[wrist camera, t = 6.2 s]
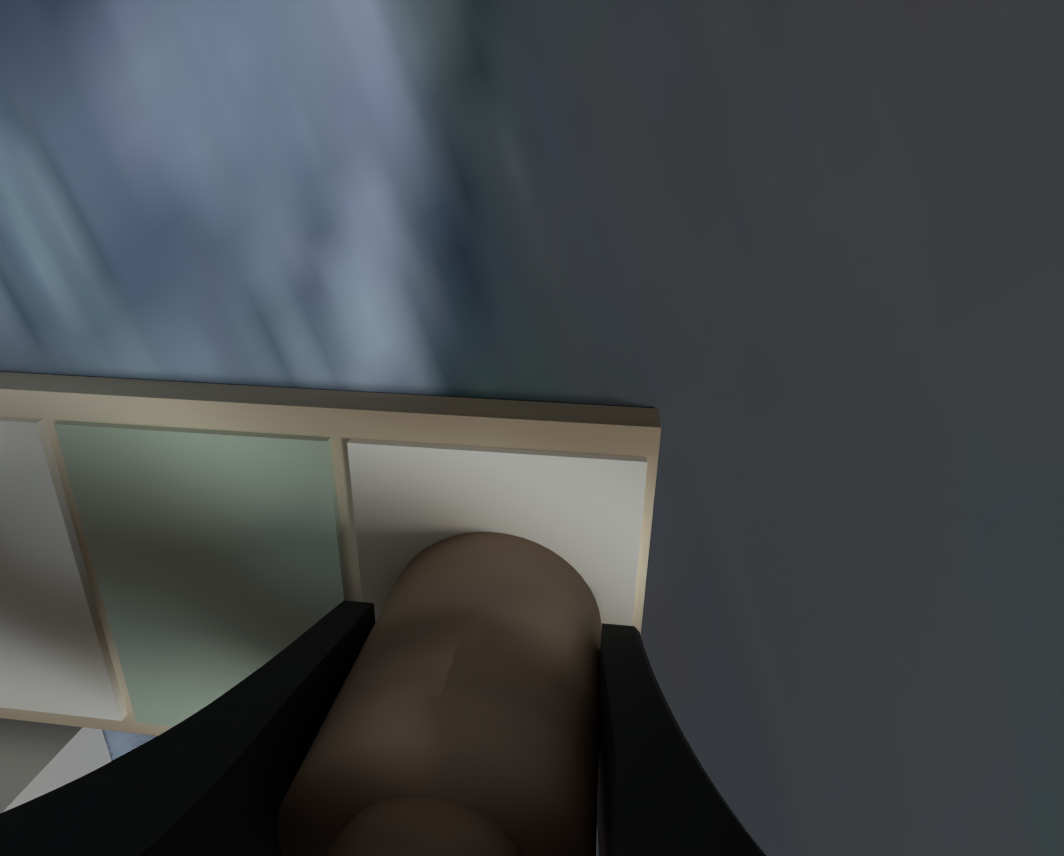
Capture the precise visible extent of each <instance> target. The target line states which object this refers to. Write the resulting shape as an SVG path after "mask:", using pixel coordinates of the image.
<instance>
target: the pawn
mask: <svg viewBox="0 0 1064 856" xmlns="http://www.w3.org/2000/svg"><path fill="white" fill-rule="evenodd" d="M600 643H601V618H600V612H599V608H598V605H597V602H596V599H595V597H594V595H593V593H592V591H591V589H590V588H589V586H588V585H587V583H586V582H585V580H584V579H583V577H582V576H581V575H580V574H579V573H578V572H577V571H576V570H575V569H574V567H573V566H571V565H570V564H569V563H568V562H567V561H566V560H564V559H563V558H562V557H560V556H559V555H557V554H556V553H554V552H553V551H551V550H550V549H548V548H546V547H544V546H542V545H540V544H538V543H536V542H533V541H531V540H528V539H525V538H522V537H518V536H514V535H510V534H504V533H496V532H474V533H465V534H460V535H456V536H451V537H449V538H446V539H443V540H440V541H438V542H436V543H434V544H432V545H430V546H429V547H427V548H425V549H424V550H423V551H421V552H420V553H419V554H417V555H416V556H415V557H414V558H413V559H412V560H411V561H410V562H409V563H408V564H407V566H406V567H405V568H404V570H403V571H402V573H401V574H400V576H399V578H398V580H397V582H396V584H395V586H394V588H393V590H392V592H391V594H390V596H389V597H388V599H387V601H386V603H385V605H384V607H383V609H382V611H381V613H380V615H379V617H378V619H377V621H376V622H375V624H374V626H373V628H372V630H371V632H370V634H369V636H368V638H367V640H366V642H365V644H364V646H363V647H362V649H361V651H360V653H359V655H358V657H357V659H356V661H355V663H354V665H353V667H352V669H351V670H350V672H349V674H348V676H347V678H346V680H345V682H344V684H343V686H342V688H341V690H340V692H339V694H338V695H337V697H336V699H335V701H334V703H333V705H332V707H331V709H330V711H329V713H328V715H327V717H326V719H325V720H324V722H323V724H322V726H321V728H320V730H319V732H318V734H317V736H316V738H315V740H314V742H313V744H312V745H311V747H310V749H309V751H308V753H307V755H306V757H305V759H304V761H303V763H302V765H301V767H300V768H299V770H298V772H297V774H296V776H295V778H294V780H293V782H292V784H291V786H290V788H289V790H288V792H287V793H286V795H285V797H284V799H283V801H282V804H281V808H280V811H279V814H278V824H277V834H278V844H279V847H280V851H281V855H282V856H596V830H597V791H598V751H599V667H600Z"/></svg>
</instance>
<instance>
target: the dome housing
mask: <svg viewBox="0 0 1064 856" xmlns="http://www.w3.org/2000/svg"><path fill="white" fill-rule="evenodd" d="M109 762H111V757H110V754H109V751H108V748H107V744H106V741H105V738H104V734H103V731H102V729H93V728H85V727H76V726H67V725H58V724H50V723H41V722H32V721H23V720H15V719H6V718H0V813H2V812H5V811H7V810H10V809H12V808H14V807H17V806H19V805H21V804H24V803H26V802H28V801H30V800H33V799H35V798H37V797H39V796H41V795H44V794H46V793H48V792H50V791H53V790H55V789H57V788H59V787H61V786H63V785H65V784H67V783H70V782H72V781H74V780H76V779H78V778H80V777H82V776H84V775H86V774H88V773H90V772H92V771H94V770H96V769H98V768H100V767H102V766H104V765H106V764H107V763H109Z"/></svg>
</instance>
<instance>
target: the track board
mask: <svg viewBox="0 0 1064 856" xmlns="http://www.w3.org/2000/svg"><path fill="white" fill-rule="evenodd" d="M660 433H661V425H660V419H659V414H658V408H640V407H622V406H604V405H587V404H569V403H551V402H533V401H515V400H497V399H479V398H461V397H443V396H425V395H407V394H390V393H372V392H354V391H336V390H318V389H300V388H282V387H264V386H246V385H228V384H211V383H193V382H175V381H157V380H139V379H121V378H103V377H85V376H67V375H49V374H31V373H14V372H0V718H6V719H15V720H23V721H32V722H41V723H50V724H58V725H67V726H76V727H85V728H93V729H102V730H111V731H120V732H129V733H137V734H146V735H155V736H159V735H161V734H162V733H164V732H166V731H167V730H169V729H170V728H172V727H174V726H175V725H177V724H179V723H180V722H182V721H184V720H185V719H187V718H188V717H190V716H192V715H193V714H195V713H196V712H198V711H199V710H201V709H202V708H204V707H205V706H207V705H208V704H210V703H211V702H213V701H214V700H216V699H217V698H219V697H220V696H222V695H223V694H224V693H226V692H227V691H228V690H230V689H231V688H233V687H234V686H235V685H237V684H238V683H240V682H241V681H242V680H244V679H245V678H246V677H248V676H249V675H251V674H252V673H253V672H255V671H256V670H257V669H259V668H260V667H262V666H263V665H264V664H265V663H267V662H268V661H269V660H271V659H272V658H273V657H274V656H276V655H277V654H278V653H279V652H281V651H282V650H283V649H285V648H286V647H287V646H288V645H290V644H291V643H292V642H293V641H295V640H296V639H297V638H298V637H299V636H301V635H302V634H303V633H304V632H306V631H307V630H308V629H309V628H310V627H312V626H313V625H314V624H315V623H317V622H318V621H319V620H320V619H322V618H323V617H324V616H325V615H326V614H328V613H329V612H330V611H331V610H333V609H334V608H335V607H336V606H338V605H339V604H340V603H341V602H343V601H344V600H346V601H358V602H369V603H374V609H375V620H376V621H377V619H378V617H379V615H380V613H381V611H382V609H383V607H384V605H385V603H386V601H387V599H388V597H389V596H390V594H391V592H392V590H393V588H394V586H395V584H396V582H397V580H398V578H399V576H400V574H401V573H402V571H403V570H404V568H405V567H406V566H407V564H408V563H409V562H410V561H411V560H412V559H413V558H414V557H415V556H416V555H417V554H419V553H420V552H421V551H423V550H424V549H425V548H427V547H429V546H430V545H432V544H434V543H436V542H438V541H440V540H443V539H446V538H449V537H451V536H456V535H460V534H465V533H474V532H496V533H504V534H510V535H514V536H518V537H522V538H525V539H528V540H531V541H533V542H536V543H538V544H540V545H542V546H544V547H546V548H548V549H550V550H551V551H553V552H554V553H556V554H557V555H559V556H560V557H562V558H563V559H564V560H566V561H567V562H568V563H569V564H570V565H571V566H573V567H574V569H575V570H576V571H577V572H578V573H579V574H580V575H581V576H582V577H583V579H584V580H585V582H586V583H587V585H588V586H589V588H590V589H591V591H592V593H593V595H594V597H595V599H596V602H597V605H598V608H599V612H600V618H601V629H602V623H604V624H616V625H627V626H635V627H636V628H637V630H638V631H639V632H640V635H641V625H642V614H643V604H644V594H645V584H646V574H647V564H648V554H649V544H650V534H651V524H652V514H653V504H654V494H655V484H656V474H657V464H658V453H659V443H660Z"/></svg>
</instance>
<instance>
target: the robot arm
mask: <svg viewBox="0 0 1064 856" xmlns="http://www.w3.org/2000/svg"><path fill="white" fill-rule="evenodd" d="M375 622H376V620H375V609H374V603H369V602H358V601H346V600H344V601H343V602H341V603H340V604H339V605H338V606H336V607H335V608H334V609H333V610H331V611H330V612H329V613H328V614H326V615H325V616H324V617H323V618H322V619H320V620H319V621H318V622H317V623H315V624H314V625H313V626H312V627H310V628H309V629H308V630H307V631H306V632H304V633H303V634H302V635H301V636H299V637H298V638H297V639H296V640H295V641H293V642H292V643H291V644H290V645H288V646H287V647H286V648H285V649H283V650H282V651H281V652H279V653H278V654H277V655H276V656H274V657H273V658H272V659H271V660H269V661H268V662H267V663H265V664H264V665H263V666H262V667H260V668H259V669H257V670H256V671H255V672H253V673H252V674H251V675H249V676H248V677H246V678H245V679H244V680H242V681H241V682H240V683H238V684H237V685H235V686H234V687H233V688H231V689H230V690H228V691H227V692H226V693H224V694H223V695H222V696H220V697H219V698H217V699H216V700H214V701H213V702H211V703H210V704H208V705H207V706H205V707H204V708H202V709H201V710H199V711H198V712H196V713H195V714H193V715H192V716H190V717H188V718H187V719H185V720H184V721H182V722H180V723H179V724H177V725H175V726H174V727H172V728H170V729H169V730H167V731H166V732H164V733H162V734H161V735H159V736H157V737H155V738H154V739H152V740H150V741H148V742H147V743H145V744H143V745H141V746H139V747H137V748H135V749H133V750H132V751H130V752H128V753H126V754H124V755H122V756H120V757H119V758H117V759H115V760H113V761H111V762H109V763H107V764H106V765H104V766H102V767H100V768H98V769H96V770H94V771H92V772H90V773H88V774H86V775H84V776H82V777H80V778H78V779H76V780H74V781H72V782H70V783H67V784H65V785H63V786H61V787H59V788H57V789H55V790H53V791H50V792H48V793H46V794H44V795H41V796H39V797H37V798H35V799H33V800H30V801H28V802H26V803H24V804H21V805H19V806H17V807H14V808H12V809H10V810H7V811H5V812H2V813H0V856H282V855H281V851H280V847H279V844H278V834H277V824H278V814H279V811H280V808H281V804H282V801H283V799H284V797H285V795H286V793H287V792H288V790H289V788H290V786H291V784H292V782H293V780H294V778H295V776H296V774H297V772H298V770H299V768H300V767H301V765H302V763H303V761H304V759H305V757H306V755H307V753H308V751H309V749H310V747H311V745H312V744H313V742H314V740H315V738H316V736H317V734H318V732H319V730H320V728H321V726H322V724H323V722H324V720H325V719H326V717H327V715H328V713H329V711H330V709H331V707H332V705H333V703H334V701H335V699H336V697H337V695H338V694H339V692H340V690H341V688H342V686H343V684H344V682H345V680H346V678H347V676H348V674H349V672H350V670H351V669H352V667H353V665H354V663H355V661H356V659H357V657H358V655H359V653H360V651H361V649H362V647H363V646H364V644H365V642H366V640H367V638H368V636H369V634H370V632H371V630H372V628H373V626H374V624H375ZM597 826H598V844H599V856H766V855H765V854H764V852H763V851H762V850H761V849H760V847H759V846H758V845H757V844H756V842H755V841H754V840H753V839H752V838H751V836H750V835H749V834H748V832H747V831H746V830H745V828H744V827H743V826H742V824H741V823H740V822H739V820H738V819H737V817H736V816H735V815H734V813H733V812H732V811H731V809H730V808H729V806H728V805H727V804H726V802H725V801H724V799H723V798H722V796H721V795H720V793H719V792H718V790H717V789H716V787H715V786H714V784H713V783H712V781H711V780H710V778H709V777H708V775H707V773H706V772H705V770H704V769H703V767H702V765H701V764H700V762H699V761H698V759H697V757H696V756H695V754H694V752H693V750H692V749H691V747H690V745H689V743H688V742H687V740H686V738H685V736H684V735H683V733H682V731H681V729H680V727H679V725H678V723H677V722H676V720H675V718H674V716H673V714H672V712H671V710H670V707H669V705H668V703H667V701H666V699H665V697H664V695H663V693H662V691H661V689H660V687H659V684H658V682H657V680H656V678H655V675H654V673H653V670H652V668H651V665H650V663H649V660H648V658H647V655H646V652H645V649H644V646H643V643H642V639H641V636H640V632H639V631H638V630H637V628H636V627H635V626H627V625H616V624H604V623H602V629H601V643H600V667H599V751H598V791H597Z"/></svg>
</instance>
